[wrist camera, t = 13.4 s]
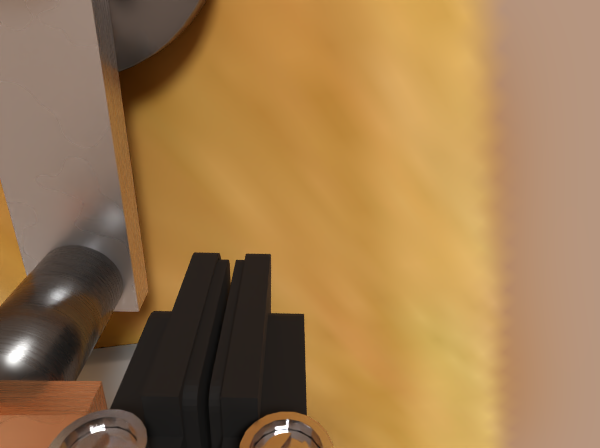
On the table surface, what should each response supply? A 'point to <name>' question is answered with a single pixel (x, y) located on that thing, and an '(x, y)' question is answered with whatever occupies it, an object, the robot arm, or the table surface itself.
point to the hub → (148, 26)
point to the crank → (62, 211)
